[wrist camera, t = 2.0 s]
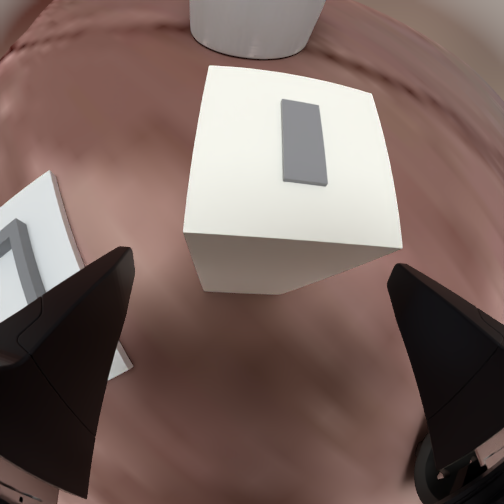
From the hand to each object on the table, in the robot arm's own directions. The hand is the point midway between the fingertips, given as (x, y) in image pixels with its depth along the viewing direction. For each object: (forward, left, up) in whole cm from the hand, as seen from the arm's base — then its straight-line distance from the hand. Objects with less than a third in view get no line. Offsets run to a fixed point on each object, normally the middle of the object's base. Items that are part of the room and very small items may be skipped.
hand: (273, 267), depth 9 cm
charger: (+2, -2, -10) cm, 10 cm away
